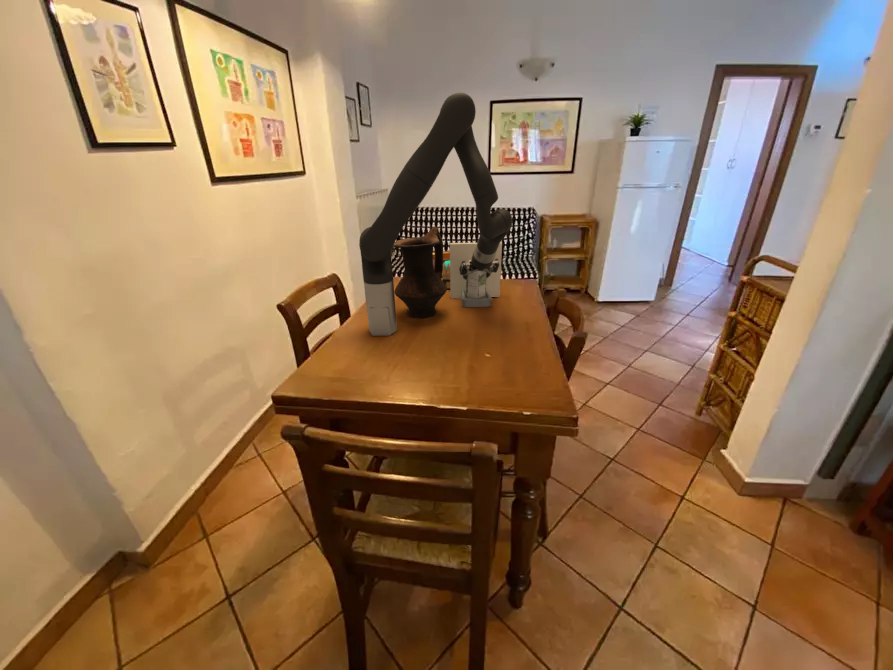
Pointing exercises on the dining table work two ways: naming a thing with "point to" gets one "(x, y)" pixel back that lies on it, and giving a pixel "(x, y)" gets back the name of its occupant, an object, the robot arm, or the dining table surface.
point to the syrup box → (476, 284)
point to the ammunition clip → (447, 280)
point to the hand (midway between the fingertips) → (475, 276)
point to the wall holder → (458, 284)
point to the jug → (421, 274)
